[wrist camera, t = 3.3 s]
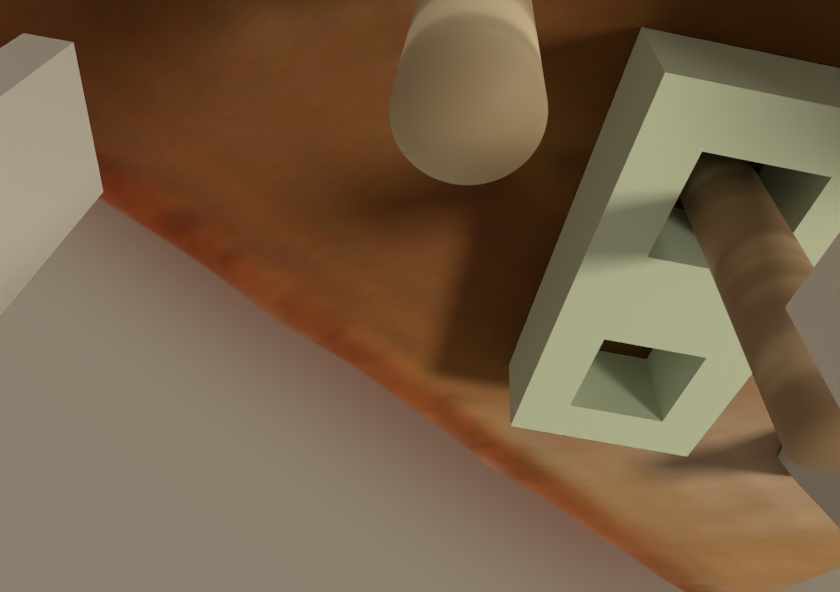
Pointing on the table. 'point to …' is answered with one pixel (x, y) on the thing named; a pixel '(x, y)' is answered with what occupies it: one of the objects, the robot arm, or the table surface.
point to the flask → (817, 486)
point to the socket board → (669, 242)
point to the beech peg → (469, 90)
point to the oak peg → (763, 301)
